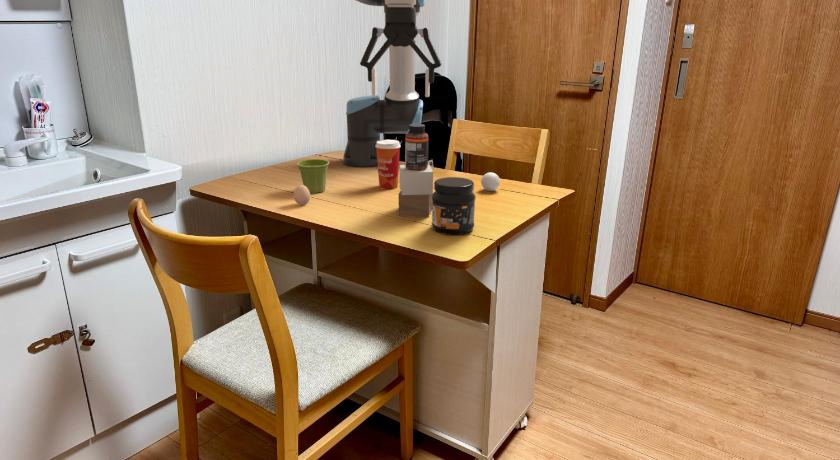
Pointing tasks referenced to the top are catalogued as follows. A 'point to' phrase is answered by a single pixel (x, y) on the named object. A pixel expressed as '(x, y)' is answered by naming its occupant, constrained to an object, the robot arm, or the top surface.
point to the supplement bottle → (416, 148)
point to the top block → (416, 181)
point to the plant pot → (314, 174)
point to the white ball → (490, 181)
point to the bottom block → (415, 205)
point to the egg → (302, 195)
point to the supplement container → (453, 205)
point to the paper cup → (388, 163)
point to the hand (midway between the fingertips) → (400, 95)
